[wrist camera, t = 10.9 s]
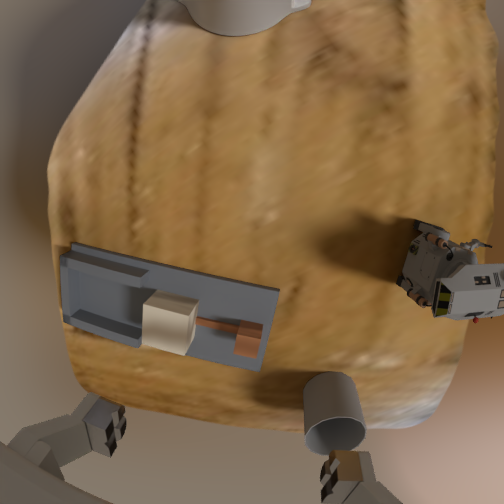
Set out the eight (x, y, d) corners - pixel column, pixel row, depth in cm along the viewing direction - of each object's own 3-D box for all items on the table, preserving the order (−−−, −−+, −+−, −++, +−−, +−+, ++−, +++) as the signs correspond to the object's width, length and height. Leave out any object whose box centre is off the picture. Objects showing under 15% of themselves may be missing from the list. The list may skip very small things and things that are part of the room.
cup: (339, 415, 46) (346, 459, 37) (294, 404, 47) (294, 450, 37) (364, 378, 44) (377, 422, 34) (316, 365, 44) (322, 410, 35)
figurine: (451, 295, 39) (505, 346, 25) (385, 280, 40) (428, 335, 25) (471, 235, 37) (536, 267, 22) (405, 214, 37) (462, 241, 23)
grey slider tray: (75, 242, 43) (59, 248, 39) (279, 289, 42) (278, 301, 38) (77, 316, 47) (64, 327, 43) (260, 368, 45) (257, 384, 41)
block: (157, 289, 42) (143, 303, 38) (265, 314, 42) (263, 333, 37) (155, 326, 44) (141, 343, 39) (256, 351, 43) (253, 372, 38)
